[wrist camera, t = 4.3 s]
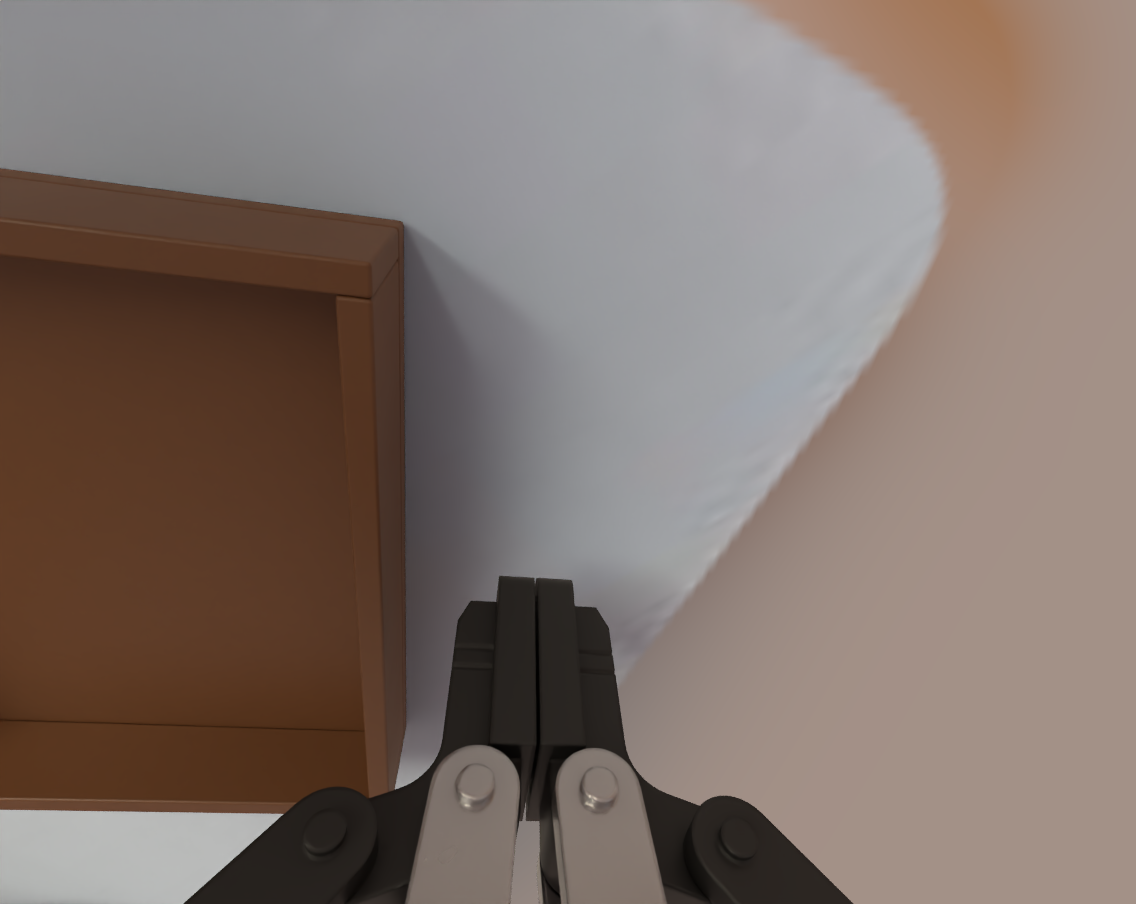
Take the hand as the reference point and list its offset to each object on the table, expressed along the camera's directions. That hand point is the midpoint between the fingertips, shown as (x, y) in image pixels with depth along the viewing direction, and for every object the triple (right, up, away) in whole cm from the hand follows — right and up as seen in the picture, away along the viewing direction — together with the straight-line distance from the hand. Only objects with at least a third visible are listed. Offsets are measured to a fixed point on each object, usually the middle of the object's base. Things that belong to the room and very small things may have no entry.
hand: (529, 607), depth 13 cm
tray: (-9, +2, 0) cm, 9 cm away
